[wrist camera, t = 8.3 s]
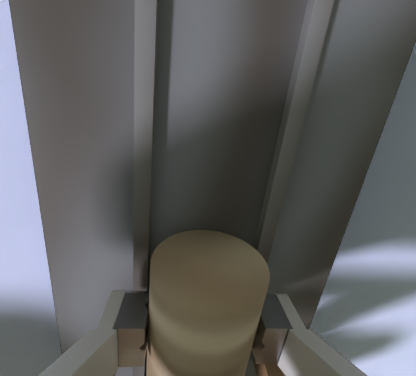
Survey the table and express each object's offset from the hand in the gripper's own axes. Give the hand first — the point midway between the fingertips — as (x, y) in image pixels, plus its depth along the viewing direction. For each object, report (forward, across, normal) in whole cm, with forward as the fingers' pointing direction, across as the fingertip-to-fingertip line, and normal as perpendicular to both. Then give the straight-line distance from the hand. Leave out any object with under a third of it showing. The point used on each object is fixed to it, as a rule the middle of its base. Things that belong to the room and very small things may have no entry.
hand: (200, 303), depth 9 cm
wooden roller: (+1, 0, +5) cm, 5 cm away
